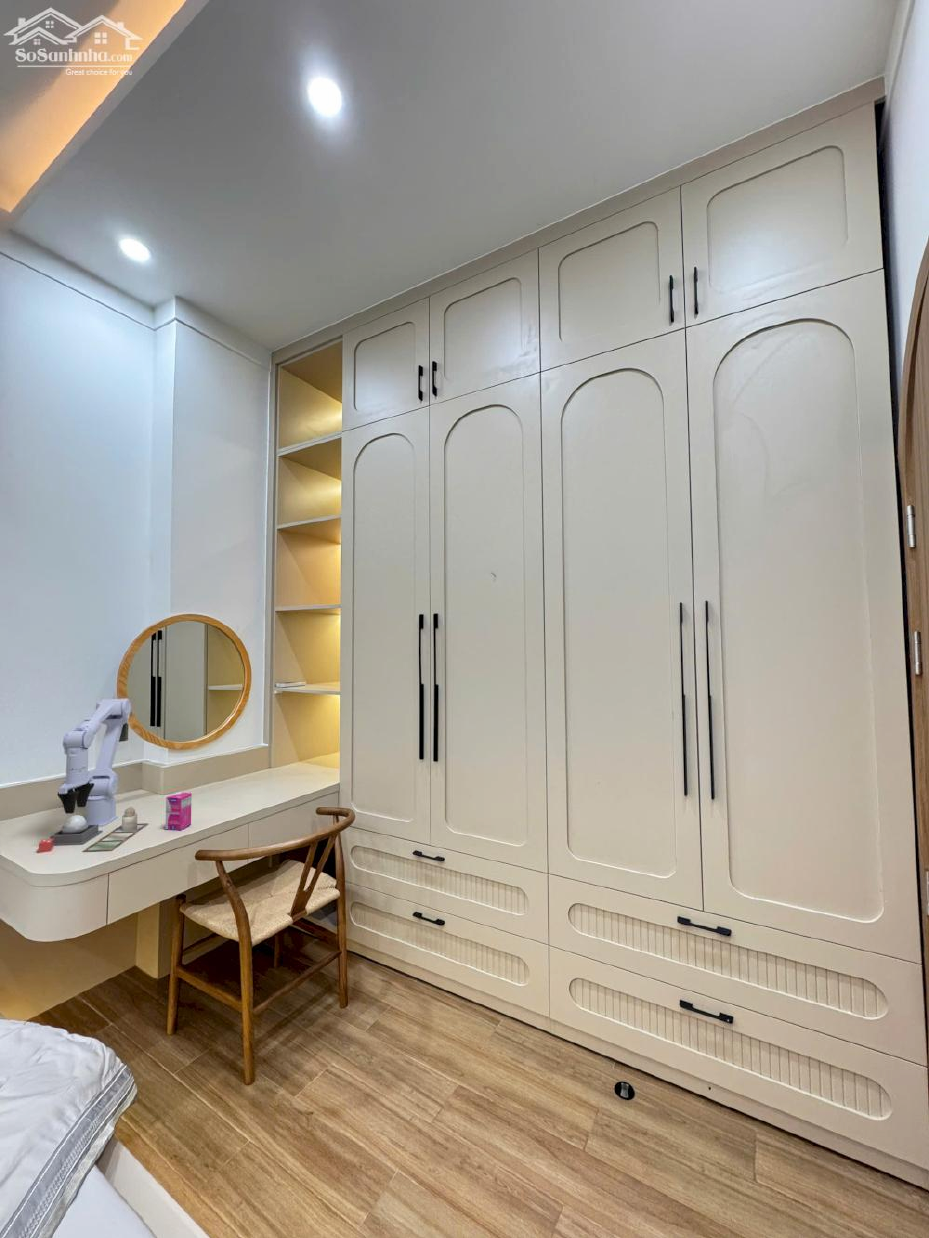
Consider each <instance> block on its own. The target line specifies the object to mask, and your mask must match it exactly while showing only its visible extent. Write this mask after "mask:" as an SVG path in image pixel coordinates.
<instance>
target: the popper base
mask: <svg viewBox="0 0 929 1238" xmlns="http://www.w3.org/2000/svg"><path fill="white" fill-rule="evenodd" d="M99 827H100V826H99V824H97V825H88V830H87V831H85V832H83V833H80V834H69V835H62V829H60V830H58V831H56V832H55V833H52V834H51V835H50V837H49V839H54V846H53V847H58V846H60V847H64V846H65V847H66V846H83V845H85V844H86V843H88V842H89V841H91V840H93V839H94V838H96V837H97V836H99V835H100V834H102V833H103V830H99Z"/></svg>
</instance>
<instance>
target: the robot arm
mask: <svg viewBox="0 0 929 1238" xmlns="http://www.w3.org/2000/svg"><path fill="white" fill-rule="evenodd" d="M131 711H132V704H131V701H130V699H129V698H100V699H98V701H96V704H95V711H94V713H93V714H92V715H91V717H86V718H84V719H83V720H82V721H81V723H79V725H77V727H76V728H75V729H74V730H70V731H68V732H67V733H65V734H64V736H63V739H62V747H63V748H64V749H63V750H64V752H63V753H64V755H65V756H66V759H65V760H66V763H65V765H66V766H65V781H62V782H61V786H60V787H58V791H57V797H58V798H59V799H60V801H61V802H62V807H63V809H64V813H65V814H66V815H68V814H69V815H70V814H71V815H72V814H74V813H75V809H76V806H77V808H85V810H86V811H85V820H86V822H88V823H89V825H97V824H99V827H104V826H107V825H108V824H109V823H111V822H113V821H114V820H117V819H118V818H119V815H116V814H117V799H116V796H115V794H116V793H117V791H118V787H119V786H118V785H119V784H118V783H119V775H118V773H116V772H115V770H114V769H113V766H114V761H115V757H116V754H117V749H118V746H119V743H120V739H121V738H120V737H121V734H122V730H123V726H124V725H125V724H127V723H128V722H129V719H130V715H131ZM102 724H103V725H105V726H106V728H105V732H104V735H103V739H102V743H101V745H100V751H99V753H98V757H97V760H96V763H95V764H96V765H95V768H93V770H91V771H89V770H88V769H89V768H88V767H89V748H90V747H91V746H92V743H93V740H94V738H95V736H96V734H97V733H98V732H99V730H100V729H101V728H102ZM112 769H113V770H112Z"/></svg>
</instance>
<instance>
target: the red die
mask: <svg viewBox="0 0 929 1238" xmlns="http://www.w3.org/2000/svg"><path fill="white" fill-rule="evenodd" d="M54 847H55V846H54V839H50V838H49V839H48V838H47V839H41V841H39V843H38V854H42V853H49V852H52V850H53V849H54Z"/></svg>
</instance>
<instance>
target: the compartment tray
mask: <svg viewBox="0 0 929 1238" xmlns="http://www.w3.org/2000/svg"><path fill="white" fill-rule="evenodd" d="M148 825H149V823H147V822H146V823H137V829H135V830H132V831H122V824H121V825H119V826H117V827H116V828H115V829H113V830H112V831H111V832H109V833H107V834H106V835H105V836H103V837H101V838H100V839H99V840H96V841H95V842H94V843H92V844H91V845H89V846H88V847H87V848H84V849H83V850H82V853H96V852H98V853H100V852H113V851H114V850H115V849H117V848H118V847H120V846H121V845H122V844H124V843H125V842H127V841H128V840H129V839H130V838H132V837H133V836H135V835H136V834H137V833H139V832H140V831H141V830H143V829H144V828H145V827H147V826H148Z"/></svg>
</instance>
